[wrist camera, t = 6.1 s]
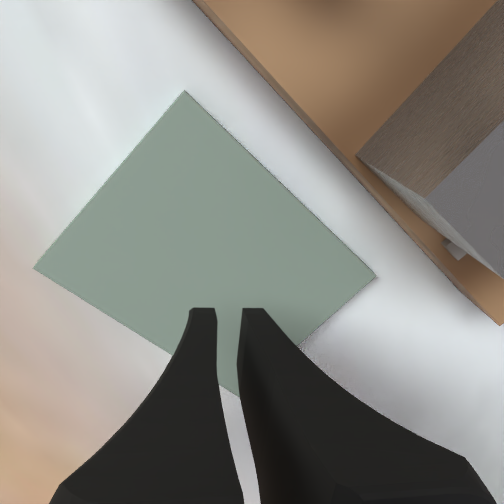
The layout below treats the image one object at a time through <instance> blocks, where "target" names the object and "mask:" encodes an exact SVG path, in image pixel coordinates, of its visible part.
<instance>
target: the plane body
mask: <svg viewBox="0 0 504 504" xmlns="http://www.w3.org/2000/svg"><path fill="white" fill-rule="evenodd" d="M192 1H193V2H194V3H195V4H196V5H197V6H198V7H199V9H200V10H201V11H202V12H203V13H204V14H205V15H206V16H207V17H208V18H209V19H210V20H211V22H212V23H213V24H214V25H215V26H216V27H217V28H218V29H219V30H220V31H221V32H222V33H223V35H224V36H225V37H226V38H227V39H228V40H229V41H230V42H231V43H232V44H233V45H234V46H235V48H236V49H237V50H238V51H239V52H240V53H241V54H242V55H243V56H244V57H245V58H246V59H247V61H248V62H249V63H250V64H251V65H252V66H253V67H254V68H255V69H256V70H257V71H258V73H259V74H260V75H261V76H262V77H263V78H264V79H265V80H266V81H267V82H268V83H269V84H270V86H271V87H272V88H273V89H274V90H275V91H276V92H277V93H278V94H279V95H280V96H281V97H282V99H283V100H284V101H285V102H286V103H287V104H288V105H289V106H290V107H291V108H292V109H293V110H294V112H295V113H296V114H297V115H298V116H299V117H300V118H301V119H302V120H303V121H304V122H305V123H306V125H307V126H308V127H309V128H310V129H311V130H312V131H313V132H314V133H315V134H316V135H317V136H318V138H319V139H320V140H321V141H322V142H323V143H324V144H325V145H326V146H327V147H328V148H329V149H330V151H331V152H332V153H333V154H334V155H335V156H336V157H337V158H338V159H339V160H340V161H341V162H342V164H343V165H344V166H345V167H346V168H347V169H348V170H349V171H350V172H351V173H352V174H353V176H354V177H355V178H356V179H357V180H358V181H359V182H360V183H361V184H362V185H363V186H364V187H365V189H366V190H367V191H368V192H369V193H370V194H371V195H372V196H373V197H374V198H375V199H376V200H377V202H378V203H379V204H380V205H381V206H382V207H383V208H384V209H385V210H386V211H387V212H388V213H389V215H390V216H391V217H392V218H393V219H394V220H395V221H396V222H397V223H398V224H399V225H400V226H401V228H402V229H403V230H404V231H405V232H406V233H407V234H408V235H409V236H410V237H411V238H412V239H413V241H414V242H415V243H416V244H417V245H418V246H419V247H420V248H421V249H422V250H423V251H424V252H425V254H426V255H427V256H428V257H429V258H430V259H431V260H432V261H433V262H434V263H435V264H436V266H437V267H438V268H439V269H440V270H441V271H442V272H443V273H444V274H445V275H446V276H447V277H448V279H449V280H450V281H451V282H452V283H453V284H454V285H455V286H456V287H457V288H458V289H459V290H460V292H461V293H463V294H464V295H465V296H466V297H467V298H468V299H469V300H471V301H472V302H473V303H474V304H475V305H476V306H477V307H478V308H480V309H481V310H482V311H483V312H484V313H485V314H486V315H488V316H489V317H490V318H491V319H492V320H493V321H494V322H495V323H497V324H498V325H499V326H500V325H502V324H503V323H504V279H503V278H501V277H500V276H498V275H497V274H496V273H494V272H493V271H492V270H490V269H489V268H487V267H486V266H485V265H483V264H482V263H481V262H479V261H478V260H476V259H475V258H474V257H472V256H471V255H469V254H468V253H467V252H465V251H464V250H463V249H461V248H460V247H458V246H457V245H456V244H454V243H453V242H451V241H450V240H449V239H447V238H446V237H445V236H443V235H442V234H440V233H439V232H438V231H436V230H435V229H434V228H432V227H431V226H429V225H428V224H427V223H425V222H424V221H422V220H421V219H420V218H419V217H418V216H417V215H415V214H414V213H413V212H412V211H411V210H410V209H409V208H408V207H407V206H406V205H405V204H404V203H403V202H402V201H401V200H400V199H399V198H398V197H397V196H396V195H395V194H394V193H393V192H392V191H391V190H390V189H389V188H388V187H387V186H386V185H385V184H384V183H383V182H382V181H381V180H380V179H379V178H378V177H377V176H376V175H375V174H374V173H373V172H372V171H371V170H370V169H369V168H368V167H367V166H365V165H364V164H363V163H362V162H361V161H360V160H359V159H358V158H357V157H356V156H355V154H356V153H357V152H358V151H359V150H360V149H361V148H362V147H363V146H364V144H365V143H366V142H367V141H368V140H369V139H370V138H371V137H372V136H373V135H374V134H375V132H376V131H377V130H378V129H379V128H380V127H381V126H382V125H383V124H384V123H385V122H386V121H387V119H388V118H389V117H390V116H391V115H392V114H393V113H394V112H395V111H396V110H397V109H398V108H399V106H400V105H401V104H402V103H403V102H404V101H405V100H406V99H407V98H408V97H409V96H410V95H411V93H412V92H413V91H414V90H415V89H416V88H417V87H418V86H419V85H420V84H421V83H422V82H423V80H424V79H425V78H426V77H427V76H428V75H429V74H430V73H431V72H432V71H433V70H434V68H435V67H436V66H437V65H438V64H439V63H440V62H441V61H442V60H443V59H444V58H445V57H446V55H447V54H448V53H449V52H450V51H451V50H452V49H453V48H454V47H455V46H456V45H457V44H458V42H459V41H460V40H461V39H462V38H463V37H464V36H465V35H466V34H467V33H468V32H469V31H470V29H471V28H472V27H473V26H474V25H475V24H476V23H477V22H478V21H479V20H480V19H481V18H482V16H483V15H484V14H485V13H486V12H487V11H488V10H489V9H490V8H491V7H492V6H493V5H494V3H495V2H496V1H497V0H192Z"/></svg>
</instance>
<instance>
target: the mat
mask: <svg viewBox="0 0 504 504" xmlns="http://www.w3.org/2000/svg"><path fill="white" fill-rule="evenodd" d="M33 269H35V270H36V271H38V272H40V273H41V274H43V275H44V276H46V277H48V278H49V279H51V280H52V281H54V282H56V283H57V284H59V285H60V286H62V287H64V288H65V289H67V290H68V291H70V292H72V293H73V294H75V295H76V296H78V297H80V298H81V299H83V300H84V301H86V302H88V303H89V304H91V305H92V306H94V307H96V308H97V309H99V310H100V311H102V312H104V313H105V314H107V315H108V316H110V317H112V318H113V319H115V320H116V321H118V322H120V323H121V324H123V325H124V326H126V327H128V328H129V329H131V330H132V331H134V332H136V333H137V334H139V335H140V336H142V337H144V338H145V339H147V340H148V341H150V342H152V343H153V344H155V345H157V346H158V347H160V348H161V349H163V350H165V351H166V352H168V353H169V354H171V355H173V354H174V353H175V351H176V348H177V346H178V344H179V342H180V340H181V338H182V335H183V333H184V330H185V327H186V324H187V321H188V316H189V310H191V309H192V308H193V307H198V308H215V311H216V315H217V320H218V326H217V377H218V384H219V385H221V386H222V387H224V388H225V389H227V390H229V391H230V392H232V393H233V394H235V395H237V396H238V397H240V395H239V386H238V376H237V365H236V363H237V353H238V344H239V335H240V326H241V317H242V308H264V310H265V311H266V312H267V313H268V314H269V315H270V316H271V318H272V319H273V320H274V321H275V322H276V324H277V325H278V326H279V327H280V328H281V329H282V331H283V332H284V333H285V334H286V335H287V336H288V337H289V338H290V340H291V341H292V342H293V343H294V344H295V345H296V346H298V345H299V344H300V343H301V342H302V341H303V340H304V339H305V338H307V337H308V336H309V335H310V334H311V333H312V332H313V331H315V330H316V329H317V328H318V327H319V326H320V325H321V324H322V323H324V322H325V321H326V320H327V319H328V318H329V317H330V316H332V315H333V314H334V313H335V312H336V311H337V310H338V309H339V308H341V307H342V306H343V305H344V304H345V303H346V302H347V301H349V300H350V299H351V298H352V297H353V296H354V295H355V294H356V293H358V292H359V291H360V290H361V289H362V288H363V287H364V286H366V285H367V284H368V283H369V282H370V281H371V280H372V279H373V278H375V277H376V275H375V274H374V272H373V271H372V270H371V269H370V268H369V267H368V266H367V265H366V264H365V263H363V262H362V261H361V260H360V259H359V258H358V257H357V256H356V255H355V254H354V253H353V252H352V251H351V250H350V249H349V248H348V247H347V246H346V245H345V244H344V243H343V242H342V241H341V240H340V239H339V238H337V237H336V236H335V235H334V234H333V233H332V232H331V231H330V230H329V229H328V228H327V227H326V226H325V225H324V224H323V223H322V222H321V221H320V220H319V219H318V218H317V217H316V216H315V215H314V214H313V213H312V212H310V211H309V210H308V209H307V208H306V207H305V206H304V205H303V204H302V203H301V202H300V201H299V200H298V199H297V198H296V197H295V196H294V195H293V194H292V193H291V192H290V191H289V190H288V189H287V188H286V187H285V186H283V185H282V184H281V183H280V182H279V181H278V180H277V179H276V178H275V177H274V176H273V175H272V174H271V173H270V172H269V171H268V170H267V169H266V168H265V167H264V166H263V165H262V164H261V163H260V162H259V161H258V160H256V159H255V158H254V157H253V156H252V155H251V154H250V153H249V152H248V151H247V150H246V149H245V148H244V147H243V146H242V145H241V144H240V143H239V142H238V141H237V140H236V139H235V138H234V137H233V136H232V135H231V134H229V133H228V132H227V131H226V130H225V129H224V128H223V127H222V126H221V125H220V124H219V123H218V122H217V121H216V120H215V119H214V118H213V117H212V116H211V115H210V114H209V113H208V112H207V111H206V110H205V109H203V108H202V107H201V106H200V105H199V104H198V103H197V102H196V101H195V100H194V99H193V98H192V97H191V96H190V95H189V94H188V93H187V92H186V91H185V90H184V91H183V92H182V93H181V95H180V96H179V97H178V98H177V99H176V100H175V102H174V103H173V104H172V105H171V106H170V107H169V109H168V110H167V111H166V112H165V113H164V114H163V116H162V117H161V118H160V119H159V120H158V121H157V123H156V124H155V125H154V126H153V127H152V128H151V130H150V131H149V132H148V133H147V134H146V135H145V137H144V138H143V139H142V140H141V141H140V143H139V144H138V145H137V146H136V147H135V148H134V150H133V151H132V152H131V153H130V154H129V155H128V157H127V158H126V159H125V160H124V161H123V162H122V164H121V165H120V166H119V167H118V168H117V169H116V171H115V172H114V173H113V174H112V175H111V176H110V178H109V179H108V180H107V181H106V182H105V183H104V185H103V186H102V187H101V188H100V189H99V190H98V192H97V193H96V194H95V195H94V196H93V198H92V199H91V200H90V201H89V202H88V203H87V205H86V206H85V207H84V208H83V209H82V210H81V212H80V213H79V214H78V215H77V216H76V217H75V219H74V220H73V221H72V222H71V223H70V224H69V226H68V227H67V228H66V229H65V230H64V231H63V233H62V234H61V235H60V236H59V237H58V238H57V240H56V241H55V242H54V243H53V244H52V245H51V247H50V248H49V249H48V250H47V251H46V253H45V254H44V255H43V256H42V257H41V258H40V260H39V261H38V262H37V263H36V264H35V266H34V267H33Z"/></svg>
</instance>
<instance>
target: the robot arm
mask: <svg viewBox="0 0 504 504" xmlns="http://www.w3.org/2000/svg"><path fill="white" fill-rule="evenodd" d="M217 326H218V320H217V315H216V311H215V308H198V307H193V308H192V309H191V310H189V316H188V321H187V324H186V327H185V330H184V333H183V335H182V338H181V340H180V342H179V344H178V346H177V348H176V351H175V353H174V354H173V356H172V358H171V360H170V362H169V363H168V365H167V367H166V369H165V370H164V372H163V374H162V375H161V377H160V378H159V380H158V381H157V383H156V384H155V386H154V387H153V389H152V390H151V392H150V393H149V394H148V396H147V397H146V398H145V400H144V401H143V402H142V403H141V405H140V406H139V407H138V408H137V410H136V411H135V412H134V413H133V415H132V416H131V417H130V418H129V419H128V420H127V422H126V423H125V424H124V425H123V426H122V427H121V428H120V429H119V430H118V431H117V432H116V433H115V434H114V435H113V436H112V437H111V438H110V439H109V440H108V441H107V442H106V443H105V444H104V445H103V446H102V448H101V449H99V450H98V451H97V452H96V453H95V454H94V455H93V456H92V457H91V458H90V459H88V460H87V461H86V462H85V463H84V464H83V465H82V466H80V467H79V468H78V469H77V470H76V471H75V472H73V473H72V474H71V475H70V476H69V477H68V478H67V479H65V480H64V481H63V482H62V483H61V484H60V485H59V487H58V488H57V490H56V492H55V494H54V495H53V497H52V499H51V501H50V503H49V504H244V498H243V492H242V489H241V486H240V482H239V479H238V475H237V471H236V467H235V463H234V460H233V456H232V452H231V448H230V443H229V438H228V434H227V429H226V424H225V419H224V413H223V408H222V402H221V397H220V390H219V384H218V377H217ZM236 365H237V376H238V386H239V395H240V400H241V405H242V409H243V414H244V418H245V423H246V427H247V432H248V436H249V441H250V445H251V449H252V454H253V458H254V463H255V468H256V473H257V479H258V485H259V493H260V501H261V504H497V503H496V502H495V500H494V498H493V497H492V495H491V494H490V492H489V491H488V489H487V488H486V486H485V485H484V483H483V482H482V480H481V479H480V477H479V476H478V474H477V473H476V472H475V470H474V469H473V468H472V466H471V465H470V463H469V462H468V461H467V460H466V458H465V457H463V456H461V455H458V454H456V453H454V452H452V451H450V450H448V449H446V448H444V447H441V446H439V445H437V444H435V443H433V442H431V441H429V440H426V439H424V438H422V437H420V436H418V435H416V434H415V433H413V432H411V431H409V430H407V429H406V428H404V427H402V426H400V425H398V424H396V423H395V422H393V421H391V420H390V419H388V418H386V417H385V416H383V415H381V414H380V413H378V412H377V411H375V410H374V409H372V408H371V407H369V406H368V405H366V404H365V403H363V402H361V401H360V400H359V399H357V398H356V397H354V396H353V395H352V394H350V393H349V392H347V391H346V390H345V389H344V388H342V387H341V386H340V385H339V384H337V383H336V382H335V381H333V380H332V379H331V378H330V377H329V376H327V375H326V374H325V373H324V372H323V371H322V370H320V369H319V368H318V367H317V366H316V365H315V364H314V363H313V362H312V361H311V360H310V359H309V358H308V357H307V356H306V355H305V354H304V353H303V352H302V351H301V350H300V349H299V348H298V347H297V346H296V345H295V344H294V343H293V342H292V341H291V340H290V338H289V337H288V336H287V335H286V334H285V333H284V332H283V331H282V329H281V328H280V327H279V326H278V325H277V324H276V322H275V321H274V320H273V319H272V318H271V316H270V315H269V314H268V313H267V312H266V311H265V310H264V308H242V317H241V326H240V335H239V344H238V353H237V363H236Z"/></svg>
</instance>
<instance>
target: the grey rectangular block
mask: <svg viewBox="0 0 504 504" xmlns="http://www.w3.org/2000/svg"><path fill="white" fill-rule="evenodd" d="M355 156H356V157H357V158H358V159H359V160H360V161H361V162H362V163H363V164H364V165H365V166H367V167H368V168H369V169H370V170H371V171H372V172H373V173H374V174H375V175H376V176H377V177H378V178H379V179H380V180H381V181H382V182H383V183H384V184H385V185H386V186H387V187H388V188H389V189H390V190H391V191H392V192H393V193H394V194H395V195H396V196H397V197H398V198H399V199H400V200H401V201H402V202H403V203H404V204H405V205H406V206H407V207H408V208H409V209H410V210H411V211H412V212H413V213H414V214H415V215H417V216H418V217H419V218H420V219H421V220H422V221H424V222H425V223H427V224H428V225H429V226H431V227H432V228H434V229H435V230H436V231H438V232H439V233H440V234H442V235H443V236H445V237H446V238H447V239H449V240H450V241H451V242H453V243H454V244H456V245H457V246H458V247H460V248H461V249H463V250H464V251H465V252H467V253H468V254H469V255H471V256H472V257H474V258H475V259H476V260H478V261H479V262H481V263H482V264H483V265H485V266H486V267H487V268H489V269H490V270H492V271H493V272H494V273H496V274H497V275H498V276H500V277H501V278H503V279H504V0H497V1H496V2H495V3H494V5H493V6H492V7H491V8H490V9H489V10H488V11H487V12H486V13H485V14H484V15H483V16H482V18H481V19H480V20H479V21H478V22H477V23H476V24H475V25H474V26H473V27H472V28H471V29H470V31H469V32H468V33H467V34H466V35H465V36H464V37H463V38H462V39H461V40H460V41H459V42H458V44H457V45H456V46H455V47H454V48H453V49H452V50H451V51H450V52H449V53H448V54H447V55H446V57H445V58H444V59H443V60H442V61H441V62H440V63H439V64H438V65H437V66H436V67H435V68H434V70H433V71H432V72H431V73H430V74H429V75H428V76H427V77H426V78H425V79H424V80H423V82H422V83H421V84H420V85H419V86H418V87H417V88H416V89H415V90H414V91H413V92H412V93H411V95H410V96H409V97H408V98H407V99H406V100H405V101H404V102H403V103H402V104H401V105H400V106H399V108H398V109H397V110H396V111H395V112H394V113H393V114H392V115H391V116H390V117H389V118H388V119H387V121H386V122H385V123H384V124H383V125H382V126H381V127H380V128H379V129H378V130H377V131H376V132H375V134H374V135H373V136H372V137H371V138H370V139H369V140H368V141H367V142H366V143H365V144H364V146H363V147H362V148H361V149H360V150H359V151H358V152H357V153H356V154H355Z"/></svg>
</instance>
